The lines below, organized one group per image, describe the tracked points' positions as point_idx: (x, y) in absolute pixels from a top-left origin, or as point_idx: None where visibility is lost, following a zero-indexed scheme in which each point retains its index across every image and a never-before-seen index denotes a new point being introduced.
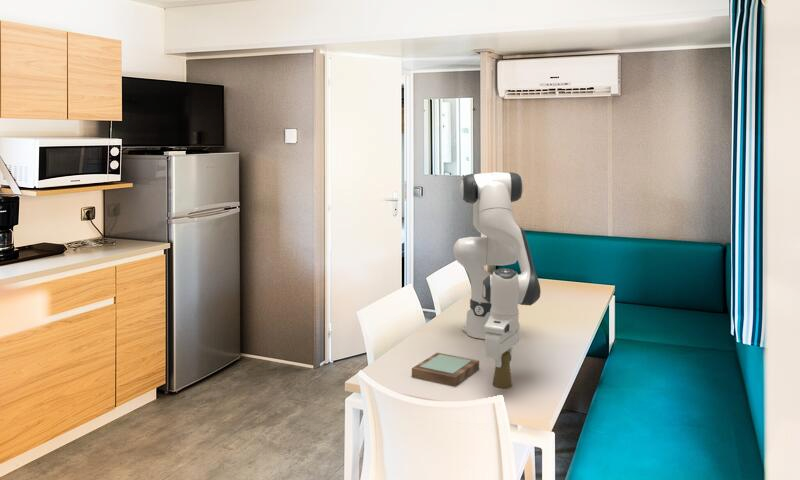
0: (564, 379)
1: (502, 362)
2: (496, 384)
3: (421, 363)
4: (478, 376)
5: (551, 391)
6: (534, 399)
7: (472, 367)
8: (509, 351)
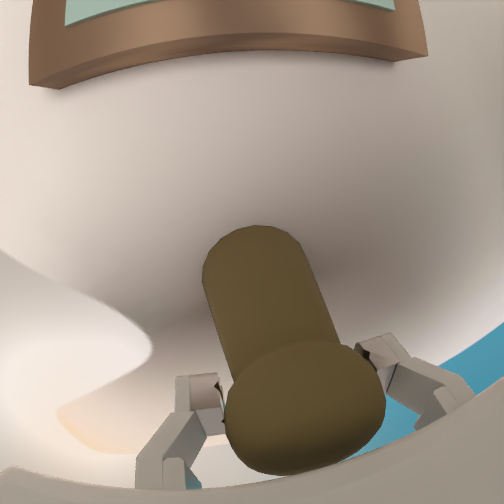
0: None
1: None
2: (204, 278)
3: None
4: (295, 97)
5: None
6: None
7: (325, 39)
8: (412, 403)
